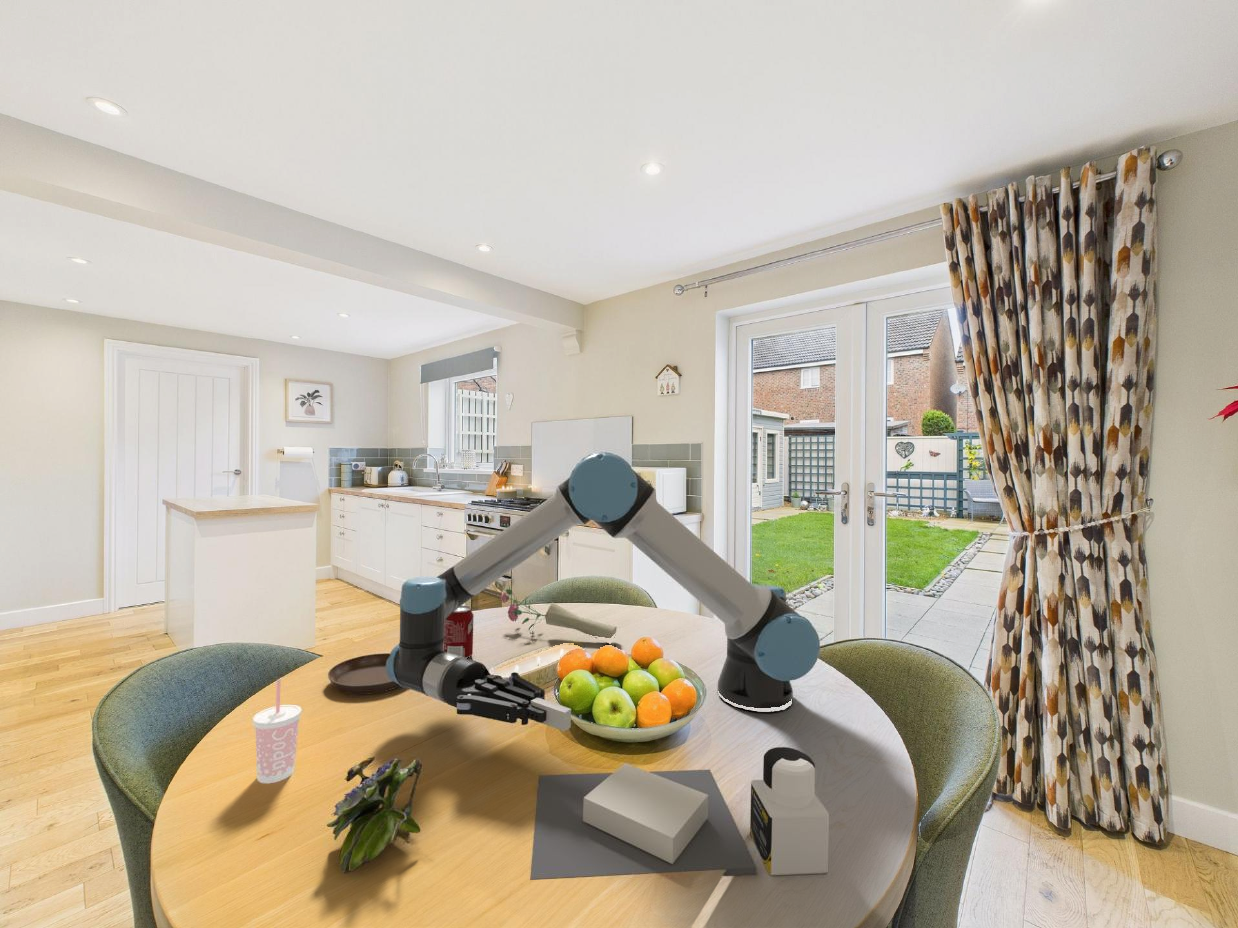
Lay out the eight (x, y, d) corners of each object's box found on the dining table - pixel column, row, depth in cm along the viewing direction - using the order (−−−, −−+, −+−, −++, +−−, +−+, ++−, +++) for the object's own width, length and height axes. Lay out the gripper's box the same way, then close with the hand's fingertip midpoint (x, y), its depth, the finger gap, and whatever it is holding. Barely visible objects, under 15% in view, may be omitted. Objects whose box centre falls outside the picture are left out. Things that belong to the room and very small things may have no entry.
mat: (709, 774, 81) (709, 769, 81) (756, 873, 61) (756, 866, 61) (538, 780, 79) (539, 775, 79) (529, 886, 59) (530, 878, 59)
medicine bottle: (749, 834, 68) (751, 740, 68) (802, 832, 69) (804, 739, 69) (769, 876, 61) (771, 772, 61) (828, 874, 62) (831, 771, 62)
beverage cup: (247, 790, 75) (250, 691, 75) (254, 768, 80) (257, 675, 80) (298, 779, 78) (301, 683, 78) (301, 759, 83) (303, 669, 83)
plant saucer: (427, 687, 112) (427, 672, 112) (332, 706, 102) (333, 690, 102) (407, 660, 126) (408, 648, 126) (323, 675, 116) (323, 661, 116)
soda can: (464, 664, 124) (465, 612, 124) (437, 661, 126) (439, 610, 126) (477, 654, 131) (478, 605, 131) (452, 651, 132) (453, 603, 132)
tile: (583, 797, 69) (673, 837, 61) (625, 762, 77) (708, 794, 70) (582, 822, 68) (672, 865, 61) (624, 784, 77) (707, 819, 70)
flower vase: (600, 675, 138) (484, 632, 148) (616, 648, 149) (507, 609, 159) (607, 639, 134) (487, 596, 143) (622, 613, 145) (510, 575, 155)
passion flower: (356, 872, 67) (377, 764, 75) (436, 866, 66) (449, 757, 73) (295, 875, 58) (325, 753, 66) (385, 869, 57) (406, 744, 64)
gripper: (486, 690, 95) (593, 728, 82) (424, 717, 84) (536, 766, 71) (487, 648, 95) (594, 679, 82) (425, 670, 84) (538, 710, 71)
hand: (567, 719), depth 76 cm, fingers closed
